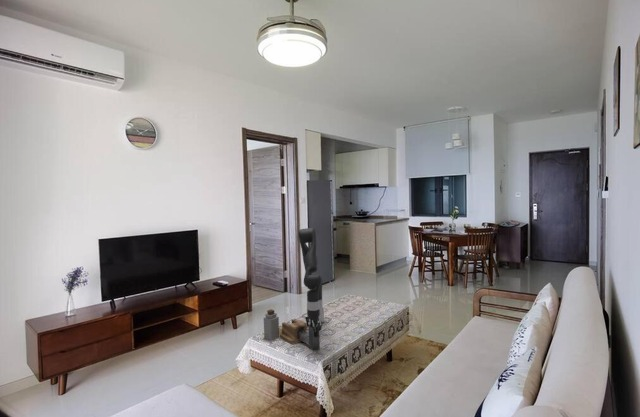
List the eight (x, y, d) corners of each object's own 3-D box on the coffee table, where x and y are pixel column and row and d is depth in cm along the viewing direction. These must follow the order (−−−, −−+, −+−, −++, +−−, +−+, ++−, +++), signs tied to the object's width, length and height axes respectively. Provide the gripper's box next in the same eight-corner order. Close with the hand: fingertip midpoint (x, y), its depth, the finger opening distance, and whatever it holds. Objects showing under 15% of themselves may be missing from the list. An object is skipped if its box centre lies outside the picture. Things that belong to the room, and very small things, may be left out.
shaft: (293, 333, 232) (292, 313, 232) (319, 347, 211) (319, 325, 210) (286, 335, 229) (286, 315, 228) (313, 350, 208) (312, 327, 207)
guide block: (297, 331, 236) (296, 316, 236) (309, 337, 226) (309, 322, 225) (279, 337, 228) (279, 321, 227) (291, 344, 217) (291, 328, 216)
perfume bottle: (272, 334, 232) (271, 307, 231) (279, 337, 228) (278, 310, 227) (264, 338, 227) (263, 310, 226) (271, 340, 223) (270, 313, 222)
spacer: (291, 331, 236) (288, 330, 239) (291, 326, 236) (288, 324, 239) (281, 335, 231) (278, 333, 234) (281, 329, 231) (278, 327, 234)
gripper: (325, 309, 206) (326, 337, 207) (311, 303, 217) (311, 330, 218) (315, 312, 201) (316, 341, 202) (301, 306, 212) (302, 334, 213)
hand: (314, 335), depth 210 cm, fingers closed on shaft, 4 cm apart
